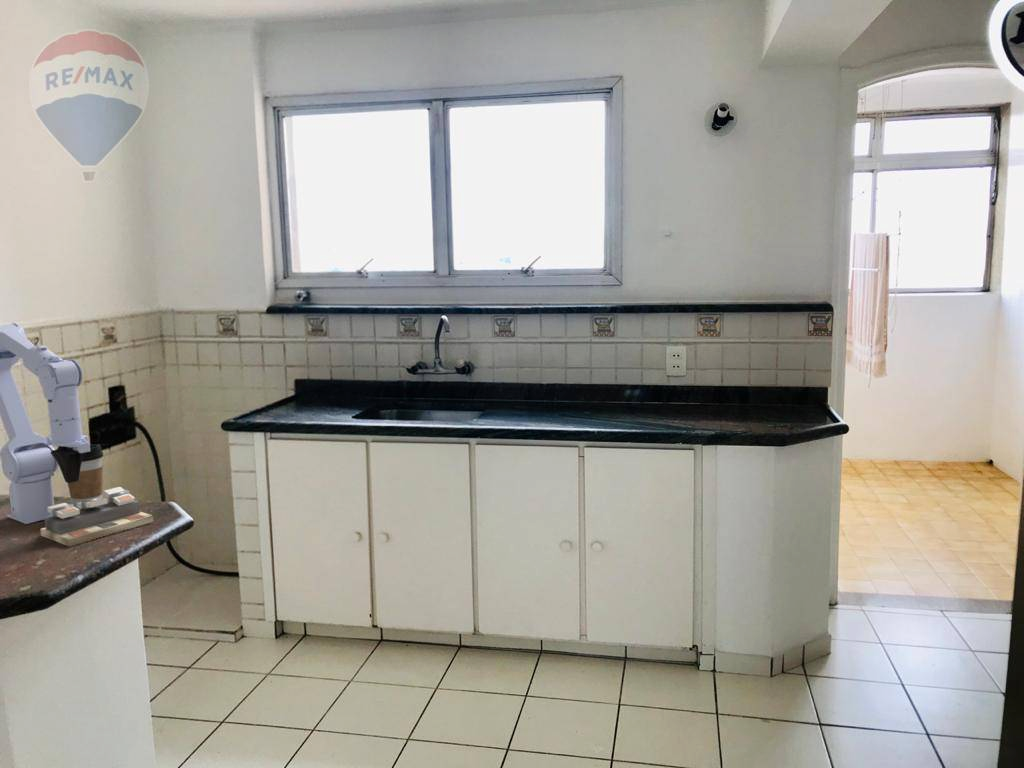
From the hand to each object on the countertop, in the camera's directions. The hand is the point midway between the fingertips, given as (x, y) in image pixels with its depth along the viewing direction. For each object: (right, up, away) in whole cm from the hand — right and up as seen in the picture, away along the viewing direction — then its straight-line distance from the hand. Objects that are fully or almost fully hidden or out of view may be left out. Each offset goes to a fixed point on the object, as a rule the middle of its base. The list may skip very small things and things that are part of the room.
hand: (72, 481), depth 174 cm
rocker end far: (+7, -4, +6) cm, 10 cm away
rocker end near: (0, -6, -3) cm, 7 cm away
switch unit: (+5, -10, +1) cm, 11 cm away
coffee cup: (-4, -9, +14) cm, 17 cm away
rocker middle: (+4, -5, +1) cm, 6 cm away
